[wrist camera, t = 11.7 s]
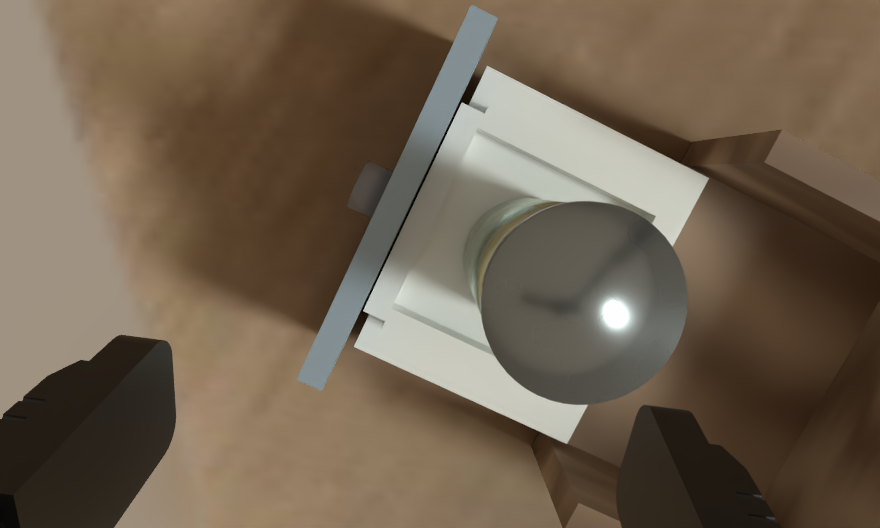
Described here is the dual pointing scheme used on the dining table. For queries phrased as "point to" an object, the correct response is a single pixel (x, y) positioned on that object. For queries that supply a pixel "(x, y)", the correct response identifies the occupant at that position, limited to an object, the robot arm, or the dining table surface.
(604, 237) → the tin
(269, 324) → the dining table surface
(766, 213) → the wooden drawer box
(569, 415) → the grey drawer
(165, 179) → the dining table surface
